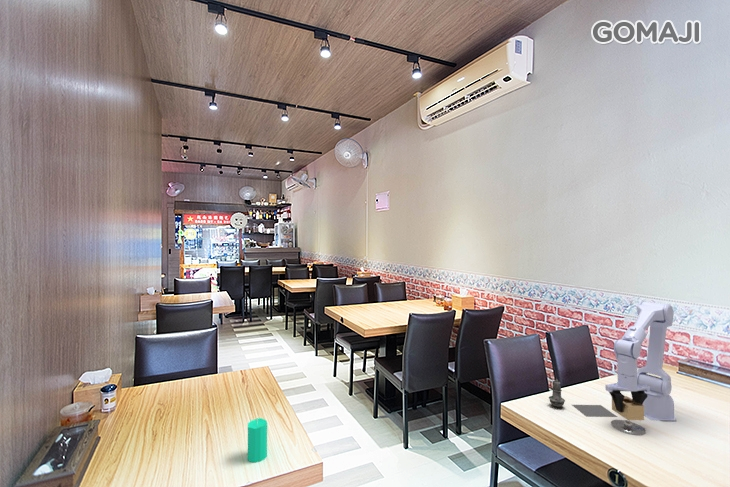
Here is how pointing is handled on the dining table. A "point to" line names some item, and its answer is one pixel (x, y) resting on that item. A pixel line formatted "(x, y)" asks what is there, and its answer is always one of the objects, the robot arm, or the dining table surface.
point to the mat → (594, 411)
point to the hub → (628, 427)
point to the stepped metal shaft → (556, 396)
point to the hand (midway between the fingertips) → (627, 411)
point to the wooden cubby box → (630, 409)
